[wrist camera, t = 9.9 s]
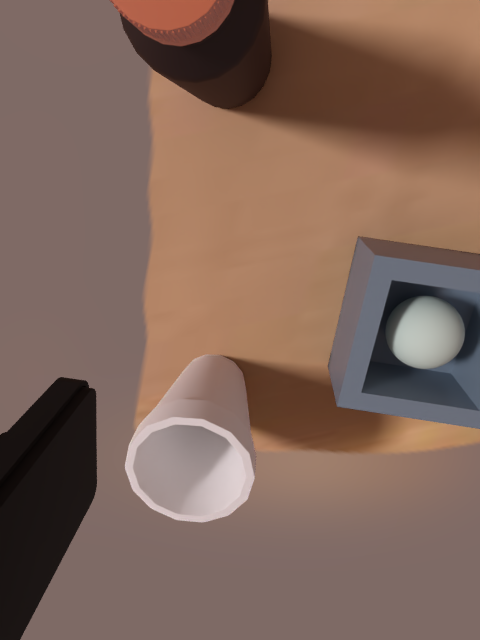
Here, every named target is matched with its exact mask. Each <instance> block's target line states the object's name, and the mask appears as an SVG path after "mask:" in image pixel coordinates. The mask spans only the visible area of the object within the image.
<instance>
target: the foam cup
mask: <svg viewBox="0 0 480 640" xmlns="http://www.w3.org/2000/svg"><path fill="white" fill-rule="evenodd" d="M255 465H256V453H255V448H254V444H253V439H252V435H251V428H250V419H249V411H248V402H247V393H246V386H245V381H244V376H243V372H242V371H241V370H240V368H239V367H238V366H237V365H236V364H235V362H234V361H232V360H230V359H228V358H226V357H224V356H222V355H209V354H206V355H204V356H201V357H198V358H196V359H193V361H192V362H191V363H190V364H189V365H188V366H187V367H186V368H185V369H184V371H183V372H182V373H181V374H180V376H179V377H178V378H177V380H176V381H175V382H174V384H173V385H172V386H171V388H170V389H169V390H168V391H167V393H166V394H165V395H164V397H163V398H162V399H161V401H160V402H159V403H158V405H157V406H156V407H155V408H154V409H153V410H152V411H151V412H150V414H149V415H148V416H147V417H146V418H145V419H144V420H143V421H142V422H141V423H140V424H139V426H138V428H137V430H136V432H135V434H134V436H133V438H132V440H131V442H130V444H129V448H128V453H127V458H126V463H125V470H126V472H127V475H128V478H129V481H130V484H131V487H132V489H133V491H134V492H135V493H136V494H137V495H138V496H139V497H140V498H141V499H142V500H143V501H144V502H145V503H146V504H147V505H148V506H149V507H150V508H151V509H153V510H155V511H158V512H160V513H162V514H164V515H166V516H169V517H171V518H173V519H175V520H183V521H194V522H207V521H210V520H214V519H217V518H221V517H224V516H228V515H230V514H231V513H232V512H233V511H234V510H235V509H237V508H238V507H239V506H240V505H241V504H242V503H244V502H245V501H246V500H247V498H248V496H249V493H250V490H251V487H252V484H253V481H254V478H255V467H256V466H255Z"/></svg>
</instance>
